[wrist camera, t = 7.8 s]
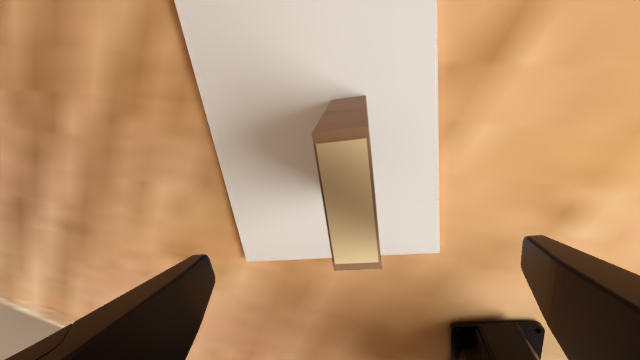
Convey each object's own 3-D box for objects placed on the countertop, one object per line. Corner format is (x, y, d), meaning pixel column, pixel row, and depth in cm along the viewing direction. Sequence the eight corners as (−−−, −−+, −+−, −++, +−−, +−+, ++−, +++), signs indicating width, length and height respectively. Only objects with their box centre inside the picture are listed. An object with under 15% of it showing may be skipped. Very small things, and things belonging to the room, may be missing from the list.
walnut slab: (375, 189, 20) (382, 270, 13) (344, 192, 21) (333, 272, 13) (365, 95, 18) (367, 126, 11) (331, 100, 19) (311, 133, 11)
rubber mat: (437, 247, 22) (439, 252, 22) (249, 257, 24) (246, 261, 24) (433, -60, 16) (436, -64, 15) (177, -6, 18) (172, -8, 17)
